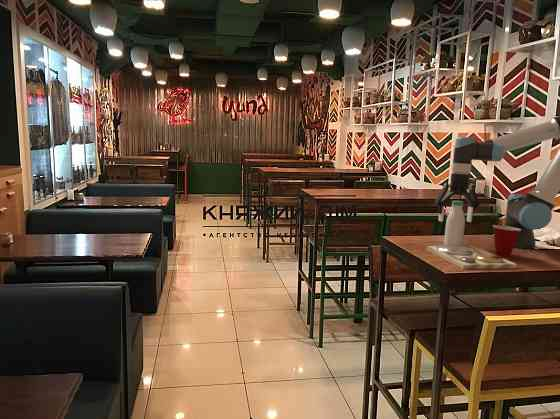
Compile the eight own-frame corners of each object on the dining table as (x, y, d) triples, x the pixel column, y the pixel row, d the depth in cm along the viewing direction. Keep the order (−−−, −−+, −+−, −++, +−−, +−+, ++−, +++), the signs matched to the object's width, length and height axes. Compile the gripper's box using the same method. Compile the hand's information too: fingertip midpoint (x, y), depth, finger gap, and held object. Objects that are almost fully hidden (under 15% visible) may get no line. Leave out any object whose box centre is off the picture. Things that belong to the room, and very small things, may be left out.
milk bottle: (463, 248, 204) (468, 203, 201) (444, 246, 206) (449, 201, 203) (461, 245, 212) (466, 200, 208) (443, 243, 214) (447, 199, 210)
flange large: (460, 246, 202) (460, 244, 202) (479, 255, 188) (479, 253, 188) (429, 246, 199) (430, 244, 199) (447, 255, 186) (447, 253, 186)
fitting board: (473, 249, 204) (473, 245, 204) (516, 268, 177) (517, 264, 177) (426, 249, 200) (426, 246, 200) (463, 268, 173) (463, 264, 173)
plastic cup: (522, 255, 196) (526, 227, 194) (510, 259, 190) (513, 230, 188) (496, 250, 205) (500, 222, 203) (484, 253, 198) (487, 225, 196)
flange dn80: (492, 255, 188) (492, 253, 188) (508, 262, 179) (509, 260, 178) (469, 255, 186) (469, 254, 186) (484, 263, 177) (485, 261, 177)
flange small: (470, 259, 182) (470, 257, 181) (478, 262, 177) (478, 260, 177) (458, 259, 181) (458, 257, 180) (465, 262, 176) (466, 260, 176)
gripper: (481, 173, 210) (475, 220, 213) (429, 171, 205) (424, 219, 209) (492, 175, 202) (485, 223, 206) (438, 172, 198) (432, 222, 201)
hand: (454, 221), depth 207 cm, fingers open, 13 cm apart
